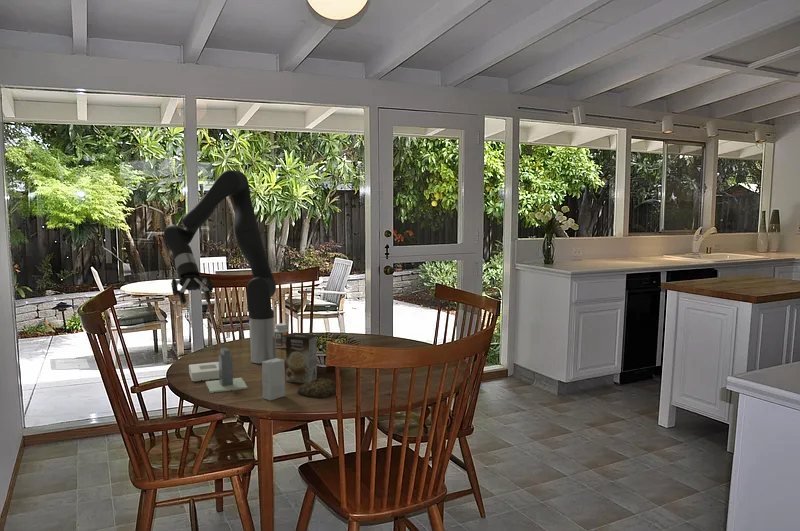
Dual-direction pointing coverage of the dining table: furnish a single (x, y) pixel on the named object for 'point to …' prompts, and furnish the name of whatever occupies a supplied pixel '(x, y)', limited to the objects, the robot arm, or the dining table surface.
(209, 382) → the sage mat
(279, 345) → the pill bottle
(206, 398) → the dining table surface
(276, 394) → the skincare box
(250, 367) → the dining table surface
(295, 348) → the coffee box
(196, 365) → the key socket
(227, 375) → the t-key
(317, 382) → the brown rock
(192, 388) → the dining table surface
